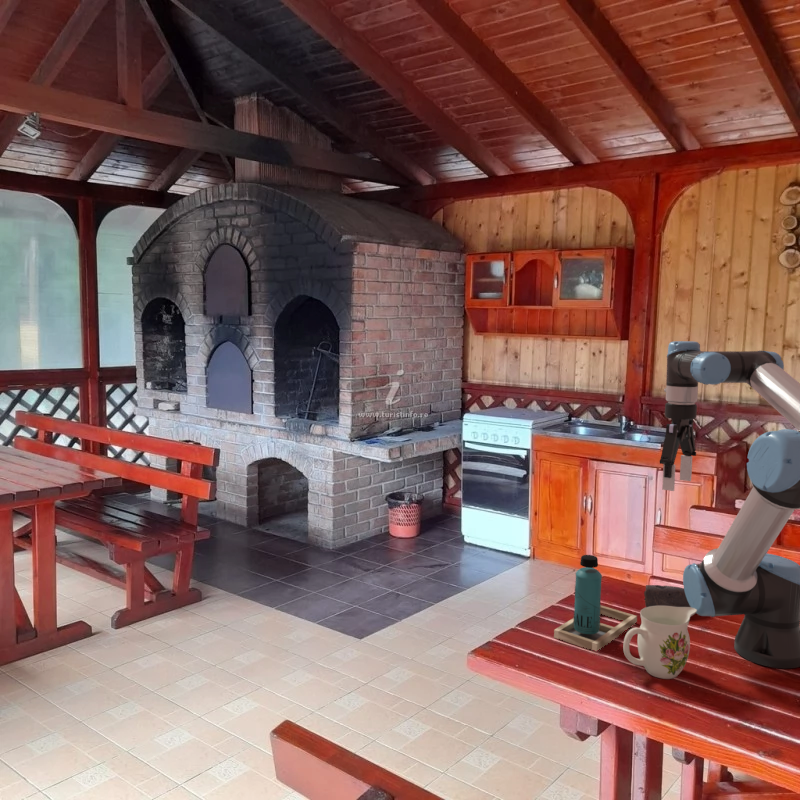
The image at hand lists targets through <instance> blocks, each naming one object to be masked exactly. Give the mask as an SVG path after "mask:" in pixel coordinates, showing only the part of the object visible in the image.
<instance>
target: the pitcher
mask: <svg viewBox="0 0 800 800" xmlns="http://www.w3.org/2000/svg"><path fill="white" fill-rule="evenodd" d="M696 612H697V609H695V608H692V607H673V606H650V607H646V606H645V607H644V608H642V609H640V611H639V613H640V619H641V624H640V626H639V627H633V628H632V627H631V628H630V629H628V630H627V631H626V634H625V636H624V638H623V648H622V649H623V650H622V651H623V653H624V656H625V658H626V659H627V660H628V661H629V663H631V664H633V665H635V666H639V667H641V666H643V667H644V669H645V670H646V673H648V674H649V675H650V676H653V677H655V678H658V679H663V680H670V679H675V678H677V677H678V675H680V674H681V672H683V669H684V668H685V667H686V664H687V663H688V662H687V661H688V659H689V654H690V649H691V639H690V634H689V631H688V627H689V623H690V620H691V617H693V616H694V615H695V614H697V613H696ZM635 635H637V642H636V643H637V651H638V656H639V658H636V657H634V656H633V655H632V654H631V651H630V643H631V640H632V638H633V637H634V636H635Z"/></svg>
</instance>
